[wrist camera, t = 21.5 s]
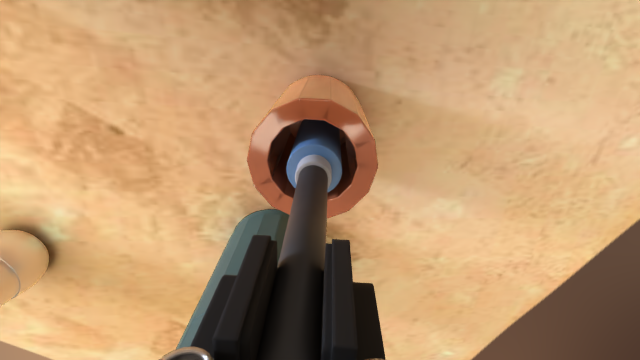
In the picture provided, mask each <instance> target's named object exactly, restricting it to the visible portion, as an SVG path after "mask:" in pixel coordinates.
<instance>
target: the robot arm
mask: <svg viewBox="0 0 640 360" xmlns="http://www.w3.org/2000/svg"><path fill="white" fill-rule="evenodd" d="M276 273H277V240H271V236H269V235H253V236H252V239H251V241H250V244H249V246H248V249H247V251H246V254H245V256H244V259H243V261H242V264H241V267H240V269H239V272H238V274H237V275H223V276H222V278H221V279H220V281H219V284H218V286H217V288H216V290H215V292H214V295H213V297H212V299H211V301H210V303H209V306H208V308H207V310H206V312H205V314H204V317H203V319H202V321H201V323H200V325H199V328H198V330H197V332H196V334H195V336H194V339H193V341H192V343H191V345H190V347H183V348H179V349H176V350H173V351H171V352H170V353H168V354H166V355H164V356H163V357H162V358H161V359H159V360H256V359H257V354H258V350H259V346H260V342H261V337H262V333H263V329H264V324H265V320H266V316H267V311H268V307H269V303H270V299H271V294H272V290H273V286H274V281H275V277H276ZM320 360H385V354H384V347H383V341H382V335H381V329H380V322H379V316H378V310H377V304H376V298H375V291H374V286H373V284H371V283H355V282H353V279H352V266H351V254H350V242H349V240H337V239H332V244H328V243H326V245H325V260H324V279H323V305H322V331H321V357H320Z"/></svg>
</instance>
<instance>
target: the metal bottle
mask: <svg viewBox="0 0 640 360" xmlns="http://www.w3.org/2000/svg"><path fill="white" fill-rule="evenodd" d="M48 263H49V254H48V251H47V249H46V247H45V246H44V244H43V243H42V242H41V241H40V240H39V239H38V238H36V237H35V236H33V235H32V234H30V233H27V232H25V231H21V230H2V231H0V307H1V306H2V305H4V304H5V303H6V302H8V301H9V300H10V299H12V298H14V297H16V296H18V295H20V294H21V293H23V292H24V291H26V290H27V289H29V288H30V287H32V286H33V285H34V284H36V283H37V282H38V280H39V279H40V278H41V277H42V276H43V274H44V273H45V272H46V270H47V267H48Z"/></svg>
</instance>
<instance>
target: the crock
mask: <svg viewBox="0 0 640 360" xmlns="http://www.w3.org/2000/svg"><path fill="white" fill-rule="evenodd" d="M303 120H323V121H326V122H328V123H330V124H332V125H333V126H335V127H337V128H339V133H340V147H341V161H342V176H341V179H340V181H339V183H338V184H337V186H336V187H335V188H334V189H333V190H331V191H330V192H328V193H327V218H330V217H333V216H336V215H338V214H341V213H344V212H347V211H349V210H350V209H351V208H352V207H353V206H354V205H355V204H357V203H358V202H359V201H360V200H361V199H362V198H363V197H364V196H365V195H366V194H367V193H368V192H369V190H370V187H371V185H372V182H373V179H374V177H375V174H376V171H377V169H378V162H377V153H376V145H375V139H374V137H373V134H372V132H371V129H370V127H369V124H368V122H367V119H366V117H365V114H364V112H363V109H362V107H361V104H360V102H359V101H358V99H357V98H356V96H355V94H354V93H353V92H352V90H351V89H350V88H349V87H348V86H347V85H345V84H344V83H343V82H341V81H339V80H338V79H335V78H333V77H330V76H325V75H311V76H307V77H303V78H301V79H299V80H297V81H296V82H293V83H291V84H290V85H289V87H288V88H287V89H286V90H285V91H284V93H283V94H282V95H281V96H280V98H279V99H278V100H277V101H276V103H275V104H274V105H273V107H272V108H271V109H270V110H269V112H268V113H267V114H266V116H265V117H264V118H263V119H262V121H261V122H260V123H259V125H258V126H257V127H256V128H255V130H254V131H253V133H252V136H251V141H250V146H249V151H248V156H247V162H248V166H249V169H250V173H251V176H252V180H253V184H254V186H255V187H256V189H257V190H258V191H259V192H260V193H261V194H262V196H263V197H264V198H265V199H266V200H267V201H268V202H269V204H270V205H271V206H272V207H274V208H276V209H278V210H280V211H283V212H285V213H287V214H289V215H290V211H291V206H292V202H293V198H294V194H295V189H296V188H294V187H293V185H292V184H291V183H290V181H289V179H288V176H287V170H286V168H287V162H288V159H289V156H290V153H291V151H292V148H293V145H294V142H295V139H296V136H297V133H298V130H299V127H300V125H301V123H302V121H303Z"/></svg>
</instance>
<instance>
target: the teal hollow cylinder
mask: <svg viewBox="0 0 640 360" xmlns="http://www.w3.org/2000/svg"><path fill="white" fill-rule="evenodd" d="M288 219H289V214H287V213H285V212H283V211H280V210H276V209H268V210H261V211H257V212H255V213H252V214H250V215H248V216H247V217H245V218H244V219H243V220H242V221H241V222H240V223H239V224H238V225H237V227H236V228H235V230H234V232H233V234H232V236H231V237H230V239H229V241H228V243H227V245H226V247H225V249H224V251H223V254H222V256H221V258H220V260H219V262H218V264H217V266H216V268H215V270H214V272H213V274H212V276H211V278H210V280H209V282H208V284H207V286H206V288H205V290H204V292H203V295H202V297H201V299H200V301H199V303H198V305H197V307H196V309H195V311H194V313H193V315H192V317H191V319H190V321H189V323H188V325H187V327H186V329H185V331H184V333H183V336H182V338H181V340H180V342H179V344H178V346H177V348H176V349H179V348H183V347H190V345H191V343H192V341H193V339H194V336H195V334H196V332H197V330H198V328H199V325H200V323H201V321H202V319H203V317H204V314H205V312H206V310H207V308H208V306H209V303H210V301H211V299H212V297H213V295H214V292H215V290H216V288H217V286H218V284H219V281H220V279H221V278H222V276H223V275H237V274H238V272H239V269H240V267H241V264H242V261H243V259H244V256H245V254H246V251H247V249H248V246H249V244H250V241H251V239H252V236H253V235H269V236H271V240H277V266H278V262H279V258H280V253H281V249H282V245H283V241H284V236H285V232H286V228H287V224H288Z"/></svg>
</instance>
